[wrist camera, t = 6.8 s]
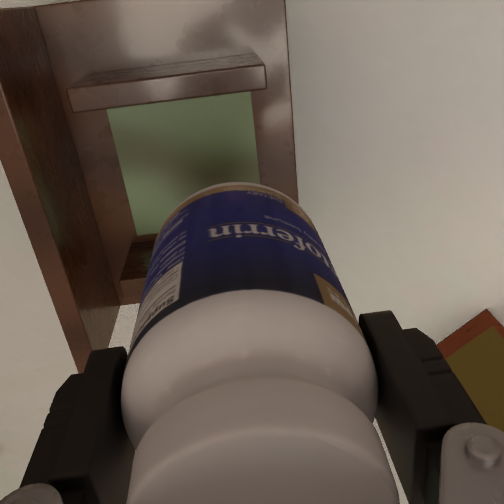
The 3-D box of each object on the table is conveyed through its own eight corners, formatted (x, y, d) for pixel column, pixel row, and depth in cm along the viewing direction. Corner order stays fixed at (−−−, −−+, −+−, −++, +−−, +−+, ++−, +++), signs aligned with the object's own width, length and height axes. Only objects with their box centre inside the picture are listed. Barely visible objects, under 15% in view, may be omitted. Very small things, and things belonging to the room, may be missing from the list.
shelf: (51, 5, 26) (-55, 13, 16) (269, -21, 27) (308, -30, 16) (120, 259, 34) (80, 378, 23) (289, 237, 34) (324, 346, 24)
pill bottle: (348, 218, 17) (505, 472, 8) (269, 340, 19) (323, 644, 10) (194, 145, 15) (173, 362, 6) (128, 288, 17) (43, 596, 8)
